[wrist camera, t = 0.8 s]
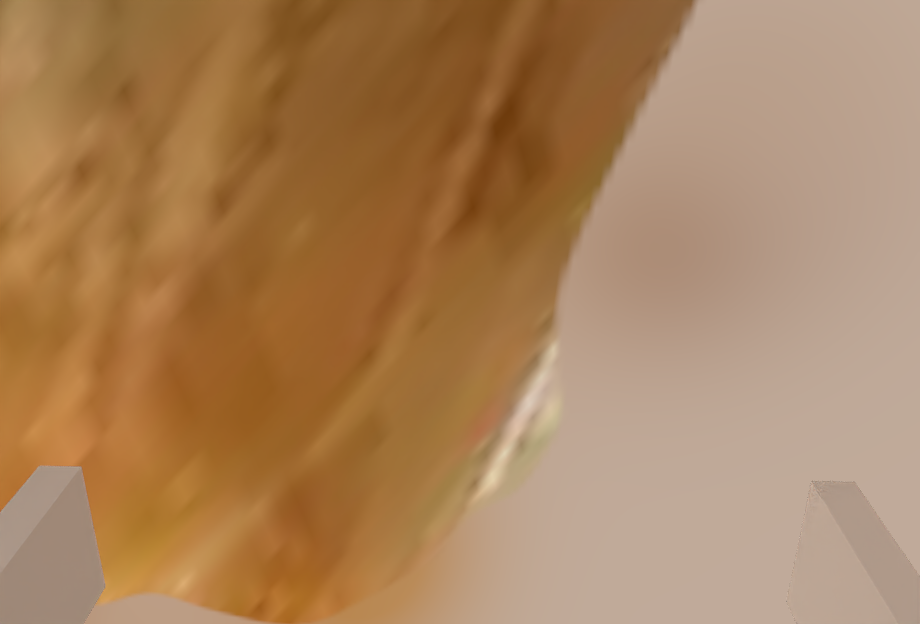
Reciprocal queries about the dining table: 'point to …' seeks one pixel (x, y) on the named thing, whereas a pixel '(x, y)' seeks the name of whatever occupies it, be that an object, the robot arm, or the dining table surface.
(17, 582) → the robot arm
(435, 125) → the dining table surface
